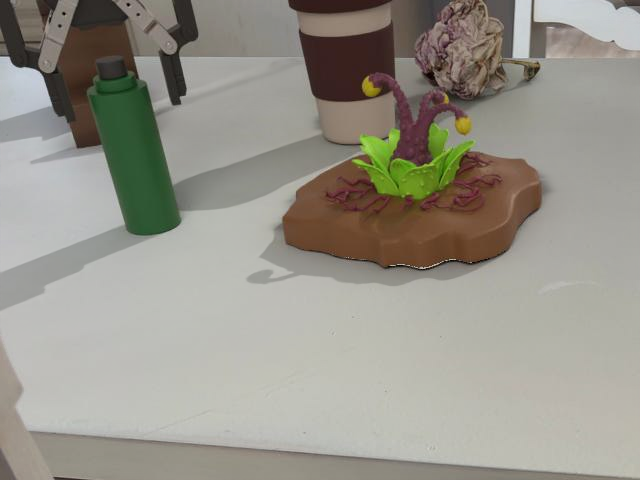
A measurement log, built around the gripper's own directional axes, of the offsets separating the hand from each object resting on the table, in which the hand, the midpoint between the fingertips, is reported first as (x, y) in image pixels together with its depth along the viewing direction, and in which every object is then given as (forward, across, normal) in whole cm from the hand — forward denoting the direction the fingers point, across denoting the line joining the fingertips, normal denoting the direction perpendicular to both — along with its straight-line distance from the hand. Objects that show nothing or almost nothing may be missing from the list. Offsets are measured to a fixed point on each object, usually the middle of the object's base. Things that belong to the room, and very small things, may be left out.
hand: (124, 111), depth 80 cm
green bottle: (+9, 0, 0) cm, 9 cm away
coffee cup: (+9, -22, -14) cm, 28 cm away
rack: (+9, +1, -31) cm, 33 cm away
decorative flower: (+9, -37, -21) cm, 44 cm away
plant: (+9, -20, +10) cm, 24 cm away
